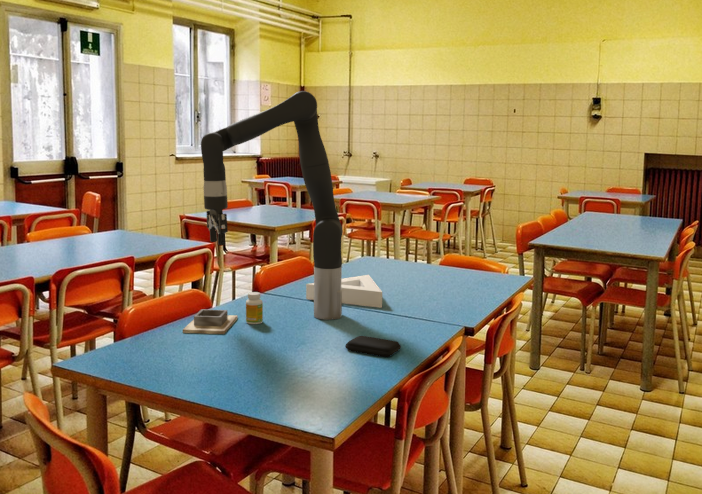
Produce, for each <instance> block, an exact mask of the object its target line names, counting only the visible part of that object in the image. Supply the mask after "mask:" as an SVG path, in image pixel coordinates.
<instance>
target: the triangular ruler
mask: <svg viewBox="0 0 702 494" xmlns="http://www.w3.org/2000/svg"><path fill="white" fill-rule="evenodd" d="M305 286H306V287H305V289H306V291H305V292H306V293H305V296H306V297H305V299H306V300H313V301H314V282H312V283H306V284H305ZM341 287H342V304H345V305H353V306H363V307H364V306H365V307H373V308H380V309H381V308H383V291H382V289H381V288H380V287H379V286H378V285H377V283H376V282H375V281H374V279H373V278H372V277H371V276H370V274H364V275H359V276H350V277H345V278H343V277H342V278H341Z"/></svg>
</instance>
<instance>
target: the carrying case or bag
mask: <svg viewBox="0 0 702 494" xmlns="http://www.w3.org/2000/svg"><path fill="white" fill-rule="evenodd" d="M345 349H346V350H347V351H349V352H352V353H359V354H364V355H369V356H375V357H381V358H390V357H392V356H393V355H394V354H396V353H397V352H399V350H401V349H402V345H401V344H400V342H399V341H397V340H396V341H395V340H391V339H387V338H386V339H385V338H379V337H373V336H367V335H357V336H356V337H354V338H351V340H349V341H348V342H347V343H346V344H345Z"/></svg>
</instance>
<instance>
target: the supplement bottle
mask: <svg viewBox="0 0 702 494" xmlns="http://www.w3.org/2000/svg"><path fill="white" fill-rule="evenodd" d="M263 306H264V305H263V300H262V299H261V293H260V292H258V291H251V292H248V293H247V299H246V301H245V322H246V324H248V325H259V324H262V323H263V322H264V320H263V319H264V318H263V317H264V315H263V314H264V313H263V311H264V310H263Z"/></svg>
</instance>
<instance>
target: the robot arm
mask: <svg viewBox="0 0 702 494" xmlns="http://www.w3.org/2000/svg"><path fill="white" fill-rule="evenodd" d="M318 120H319V119H318V101H317V100H316V97H315V96H314V95H313V94H312V93H311V92H309V91H306V90H301V91H296V92H295V93H293V94H292V95H291V96H289V97H288V98H286V99H285V100H284V101H282V102H280V103H278V104H277V105H274V106H272V107H270V108H268V109H266V110H263V111H261V112H258V113H256V114H252V115H250V116H246V117H244V118H242V119H240V120H238V121H234V122H233V123H231V124H229V125H228V126H226V127H223V128H221V129H219V130H216V131H212V132H208V133H206V134H204V135H203V136H202V137H201V140H200V141H201V142H200V151H201V158H202V165H203V170H202V171H203V203H204V204H203V205H204V207H203V208H204V209H205V210H206V229H208V231H209V241H210V242H211V243H217V242H218V243H217V245H218V246H225V245H226V234H227V233H228V232H229V231H228V230H229V229H228V215H227V213H224V212H223V210H226V209H228V206H229V205H228V188H227V187H228V186H227V181H226V167H225V162H224V152H225V151H228V150H229V149H231V148H233V147H235V146H237V145H241V144H244V143H247V142H249V141H251V140H254V139H256V138H258V137H260V136H262V135H264V134H266V133H268V132H269V131H272V130H274V129H276V128H278V127H281V126H283V125H285V124H289V123H292V122H293V123H294V128H295V130H296V134H297V139H298V154H299V163H300V168H301V173H302V177H303V182H304V185H305V188H306V191H307V193H308V196H309V199H310V200H311V203H312V207H313V212H314V217H315V218H314V219H315V227H314V229H313V237H312V242H313V243H312V246H313V247H312V248H313V249H312V251H313V256H312V257H313V276H314V277H313V283H314V300H313V317H314V318H316V319H318V320H337V319H338V320H339V319H341V318H342V314H343V313H342V311H343V308H342V307H343V303H342V287H341V279H342V278H343V277H342V276H343V275H342V271H343V270H342V268H343V267H342V266H343V265H342V264H343V263H342V261H343V260H342V259H343V258H342V237H343V233H344V232H343V226H342V223H341V220H340V217H339V215H338V214H339V213H338V211H337V208H336V203H335V195H334V187H333V179H332V174H331V168H330V167H331V166H330V163H329V159H328V155H327V151H326V147H325V145H324V142H323V140H322V136H321V133H320V128H319V121H318Z"/></svg>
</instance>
